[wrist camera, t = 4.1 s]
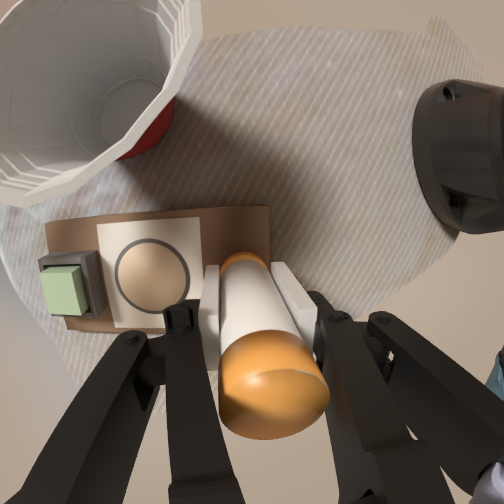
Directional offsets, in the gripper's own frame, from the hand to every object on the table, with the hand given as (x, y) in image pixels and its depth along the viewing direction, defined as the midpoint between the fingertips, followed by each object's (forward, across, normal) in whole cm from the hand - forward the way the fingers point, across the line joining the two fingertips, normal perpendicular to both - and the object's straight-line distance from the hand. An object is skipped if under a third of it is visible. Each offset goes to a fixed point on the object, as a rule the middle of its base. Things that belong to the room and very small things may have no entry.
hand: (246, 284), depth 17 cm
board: (+3, +7, 0) cm, 7 cm away
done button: (+1, +13, 0) cm, 13 cm away
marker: (+2, 0, 0) cm, 2 cm away
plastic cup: (+3, +7, -12) cm, 14 cm away
